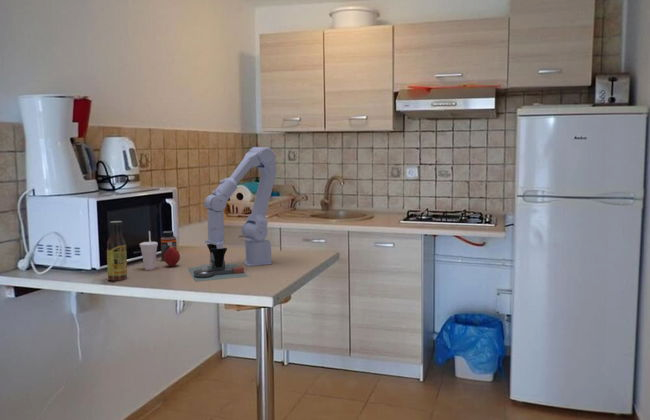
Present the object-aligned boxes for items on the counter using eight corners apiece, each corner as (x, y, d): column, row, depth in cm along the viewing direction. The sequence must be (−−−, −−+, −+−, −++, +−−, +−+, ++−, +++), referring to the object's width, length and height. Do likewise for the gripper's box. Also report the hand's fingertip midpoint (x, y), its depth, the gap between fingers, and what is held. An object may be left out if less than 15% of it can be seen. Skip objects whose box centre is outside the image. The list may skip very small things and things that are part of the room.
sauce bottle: (116, 282, 188) (112, 223, 186) (103, 280, 192) (100, 222, 189) (132, 278, 194) (128, 220, 191) (120, 276, 197) (116, 219, 195)
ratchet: (195, 279, 191) (194, 267, 191) (192, 274, 198) (192, 263, 197) (245, 274, 197) (245, 263, 196) (241, 270, 203) (240, 259, 203)
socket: (223, 266, 209) (222, 250, 208) (225, 269, 205) (225, 253, 204) (209, 267, 208) (208, 251, 207) (211, 270, 203) (211, 254, 202)
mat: (236, 264, 214) (236, 263, 214) (248, 277, 194) (248, 276, 194) (187, 268, 208) (187, 267, 208) (195, 282, 188) (195, 281, 188)
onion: (175, 268, 208) (174, 247, 207) (161, 268, 209) (160, 246, 208) (182, 265, 214) (181, 244, 213) (168, 264, 215) (167, 244, 214)
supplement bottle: (174, 261, 220) (173, 232, 219) (159, 261, 221) (158, 232, 219) (178, 258, 226) (177, 230, 225) (164, 258, 226) (162, 230, 225)
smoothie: (162, 268, 208) (160, 231, 206) (146, 272, 203) (144, 233, 201) (153, 266, 212) (151, 229, 210) (137, 269, 208) (135, 231, 206)
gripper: (201, 225, 210) (203, 261, 211) (207, 231, 196) (209, 270, 198) (221, 224, 212) (222, 260, 214) (228, 230, 198) (229, 268, 200)
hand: (217, 265), depth 206 cm, fingers open, 7 cm apart
